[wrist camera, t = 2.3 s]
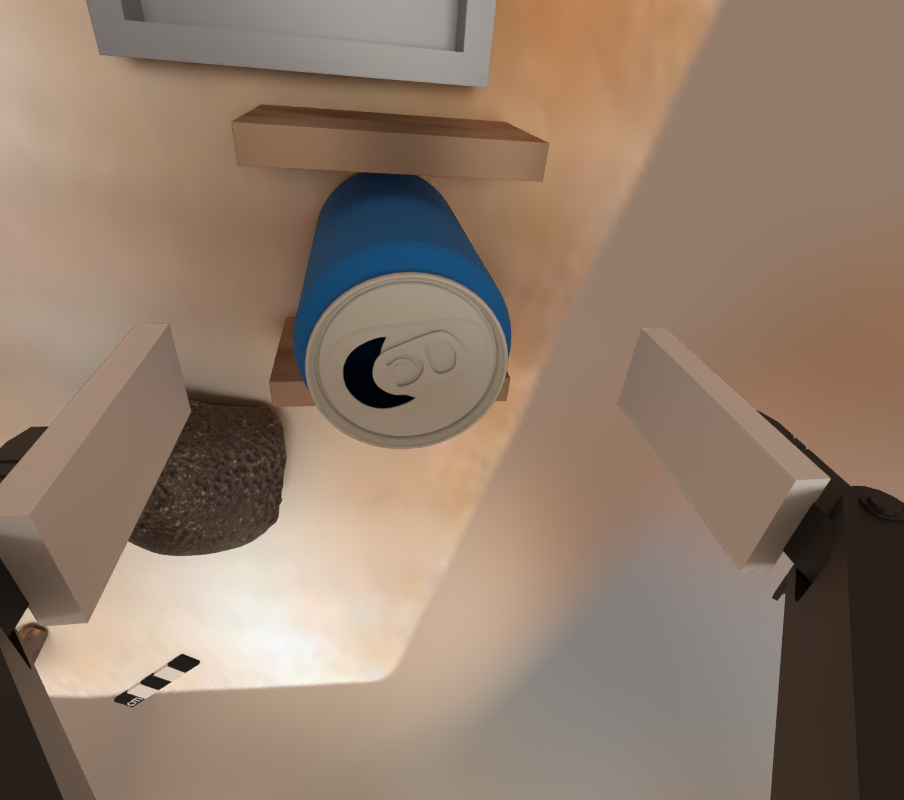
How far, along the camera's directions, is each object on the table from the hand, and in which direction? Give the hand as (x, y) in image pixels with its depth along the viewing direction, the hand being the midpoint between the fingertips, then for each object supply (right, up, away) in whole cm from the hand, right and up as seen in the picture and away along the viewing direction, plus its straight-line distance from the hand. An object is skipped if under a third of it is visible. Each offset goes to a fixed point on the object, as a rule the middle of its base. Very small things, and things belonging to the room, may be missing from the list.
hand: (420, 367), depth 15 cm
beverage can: (-2, +7, +9) cm, 12 cm away
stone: (-15, -6, +17) cm, 23 cm away
